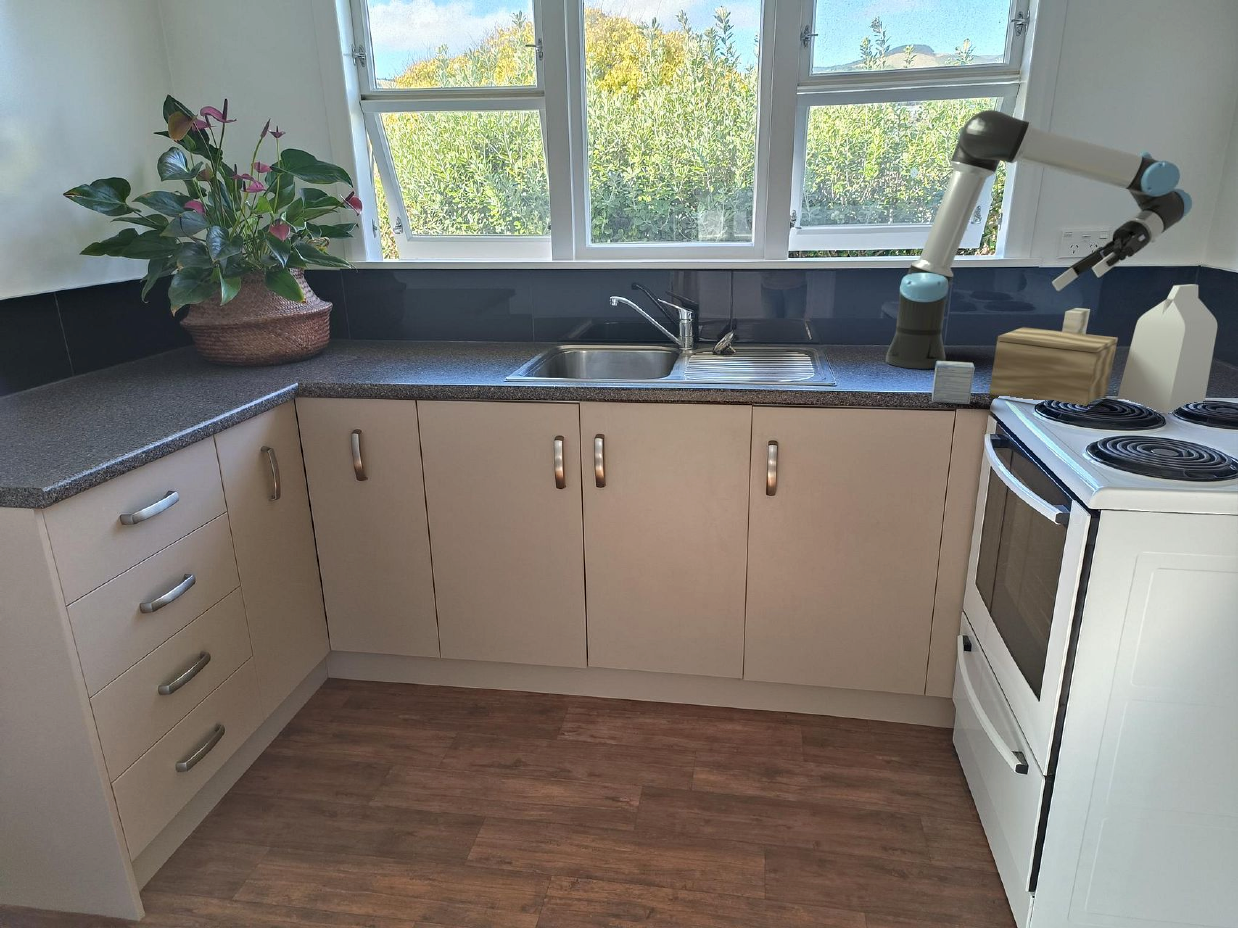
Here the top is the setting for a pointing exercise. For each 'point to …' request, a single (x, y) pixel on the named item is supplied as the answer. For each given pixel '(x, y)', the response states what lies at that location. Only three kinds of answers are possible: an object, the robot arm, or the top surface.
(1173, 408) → the milk
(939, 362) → the grey wooden block
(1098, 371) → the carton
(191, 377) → the top surface
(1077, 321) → the lid
